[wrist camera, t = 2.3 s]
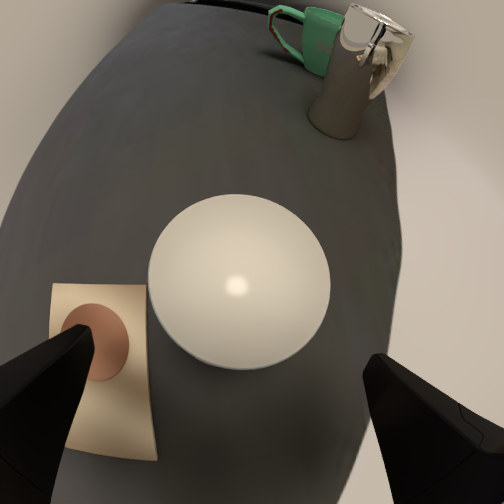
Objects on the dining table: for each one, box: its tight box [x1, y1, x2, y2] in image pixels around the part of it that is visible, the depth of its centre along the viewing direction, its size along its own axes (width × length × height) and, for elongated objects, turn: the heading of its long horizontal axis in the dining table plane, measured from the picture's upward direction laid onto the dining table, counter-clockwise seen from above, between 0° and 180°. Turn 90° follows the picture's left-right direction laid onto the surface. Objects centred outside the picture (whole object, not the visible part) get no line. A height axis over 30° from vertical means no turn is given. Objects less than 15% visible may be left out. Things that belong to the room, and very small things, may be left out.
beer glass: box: [308, 3, 415, 139], centre depth 22 cm, size 7×7×15 cm
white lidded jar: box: [148, 194, 330, 370], centre depth 13 cm, size 6×6×10 cm
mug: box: [267, 5, 345, 77], centre depth 30 cm, size 15×10×10 cm
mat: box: [49, 283, 158, 461], centre depth 14 cm, size 12×8×1 cm, turn 5°
